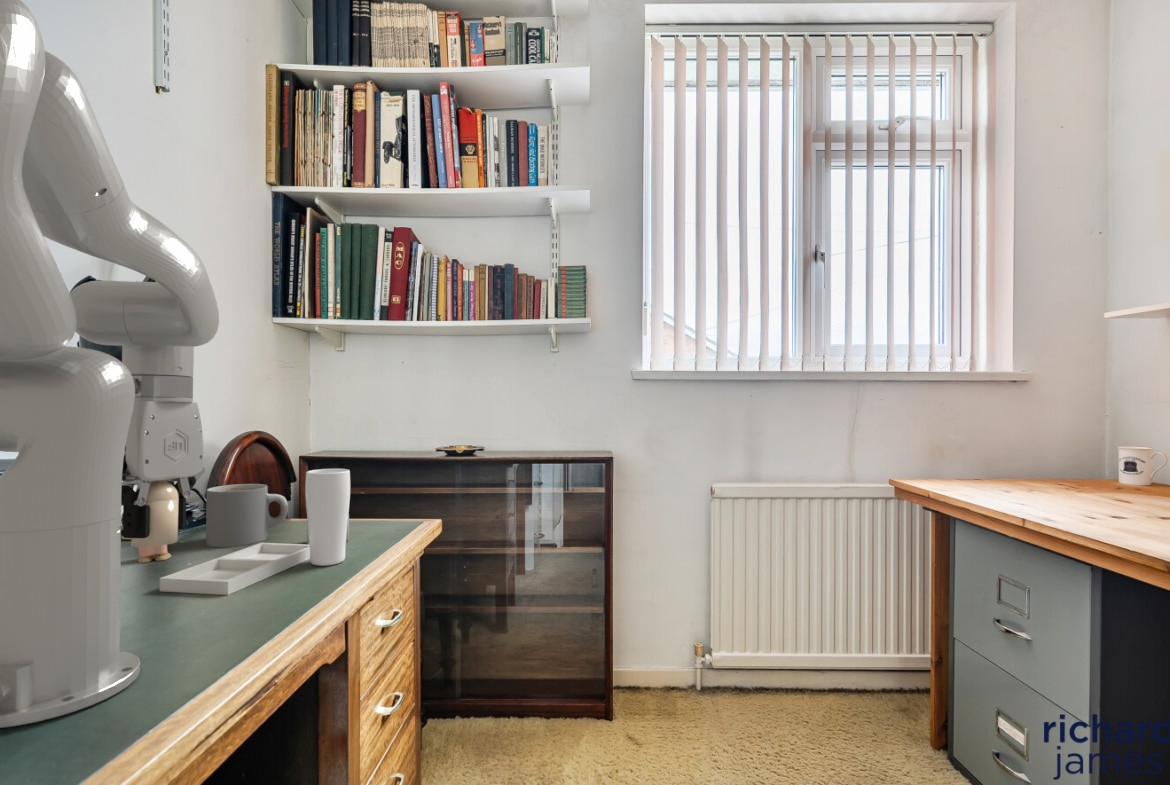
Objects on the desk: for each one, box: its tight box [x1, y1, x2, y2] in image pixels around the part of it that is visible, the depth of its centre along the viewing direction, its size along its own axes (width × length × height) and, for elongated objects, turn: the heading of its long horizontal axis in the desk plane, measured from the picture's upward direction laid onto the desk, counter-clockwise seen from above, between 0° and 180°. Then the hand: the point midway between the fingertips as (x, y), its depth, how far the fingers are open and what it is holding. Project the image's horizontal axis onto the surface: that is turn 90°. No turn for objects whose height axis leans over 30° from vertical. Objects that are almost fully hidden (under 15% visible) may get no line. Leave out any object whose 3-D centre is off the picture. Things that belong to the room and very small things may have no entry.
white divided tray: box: [159, 542, 310, 596], centre depth 91 cm, size 20×11×2 cm, turn 172°
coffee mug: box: [205, 483, 289, 548], centre depth 112 cm, size 13×10×10 cm
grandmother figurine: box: [121, 524, 172, 564], centre depth 98 cm, size 8×4×13 cm, turn 130°
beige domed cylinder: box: [130, 480, 179, 548], centre depth 75 cm, size 5×5×8 cm
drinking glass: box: [304, 468, 351, 567], centre depth 96 cm, size 7×7×15 cm
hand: (155, 531), depth 75 cm, fingers closed on beige domed cylinder, 4 cm apart
